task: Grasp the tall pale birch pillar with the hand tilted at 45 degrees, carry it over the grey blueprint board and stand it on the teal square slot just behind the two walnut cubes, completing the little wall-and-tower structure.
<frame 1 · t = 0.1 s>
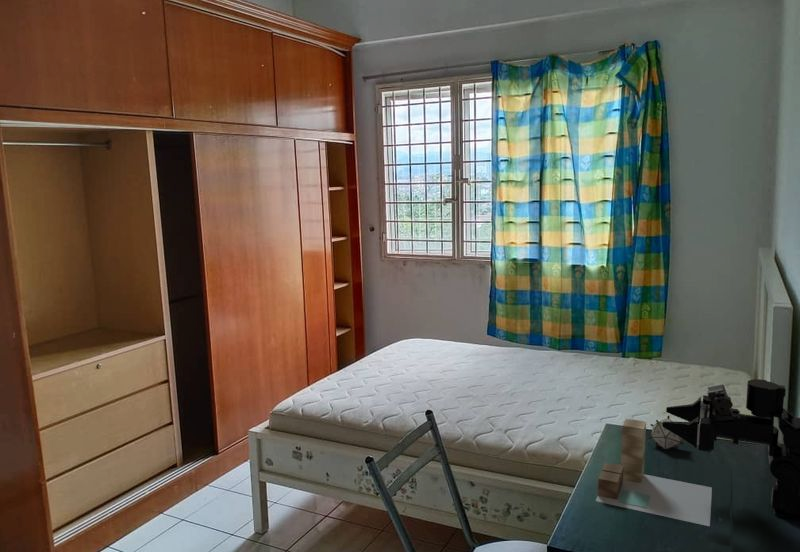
hand: (664, 416, 138), 17 cm above the table, tool horizontal, fingers open, 9 cm apart
pillar: (632, 476, 143), point 1 cm above the table, touching blueprint board
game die: (665, 449, 160), on the table
cube a: (608, 493, 136), point 1 cm above the table, touching blueprint board
blueprint board: (654, 498, 136), on the table
cube b: (612, 484, 140), point 1 cm above the table, touching blueprint board
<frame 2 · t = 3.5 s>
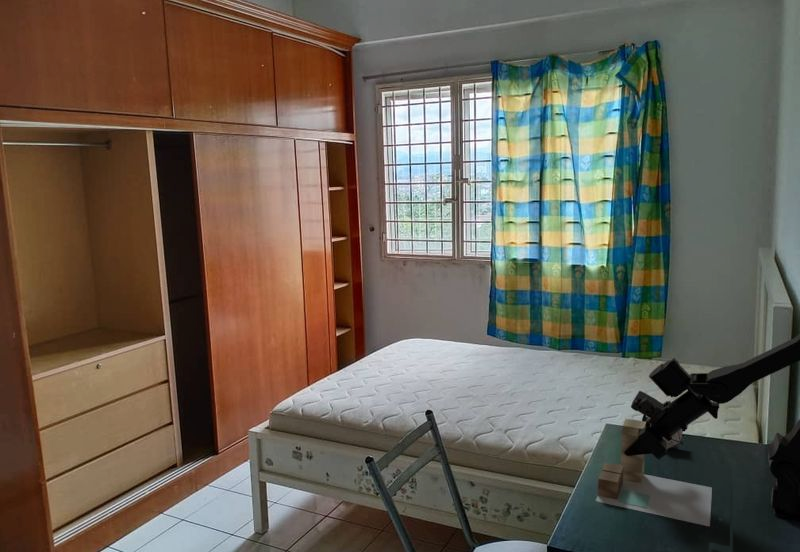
hand: (626, 449, 143), 7 cm above the table, tool tilted 45°, fingers closed on pillar, 4 cm apart
pillar: (632, 476, 143), point 1 cm above the table, touching blueprint board, gripper
everything else where it was.
when the fingers open (8 cm above the table, at t = 6.8 s): pillar stays where it is, resting on blueprint board.
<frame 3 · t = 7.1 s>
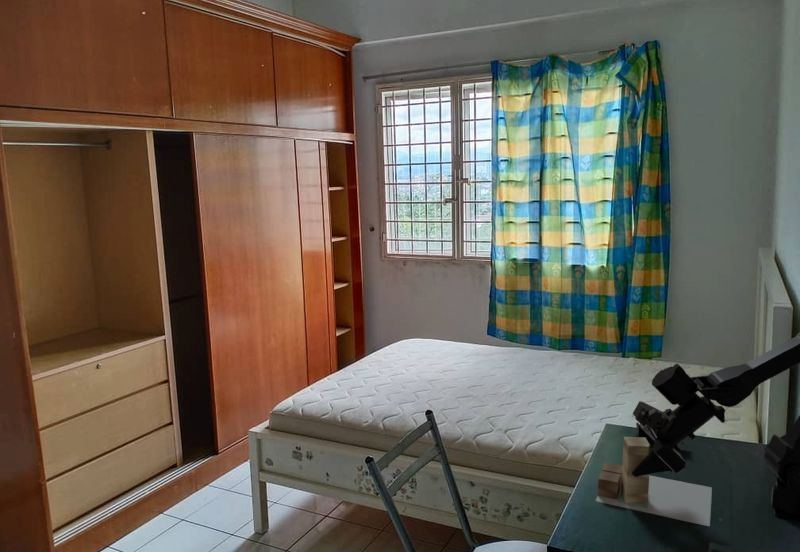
hand: (628, 465, 133), 9 cm above the table, tool tilted 45°, fingers open, 8 cm apart
pillar: (634, 498, 134), point 1 cm above the table, touching blueprint board
everything else where it was.
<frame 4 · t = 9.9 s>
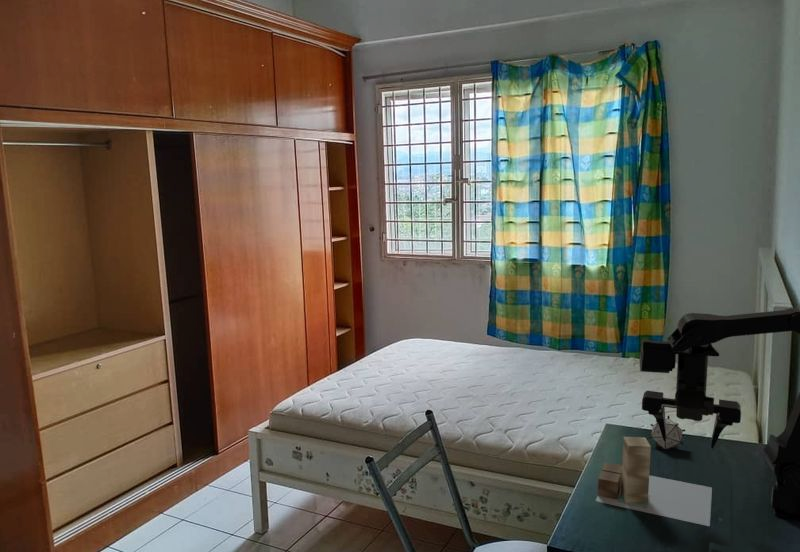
hand: (688, 444, 133), 13 cm above the table, tool pointing down, fingers open, 9 cm apart
nothing on the table moved.
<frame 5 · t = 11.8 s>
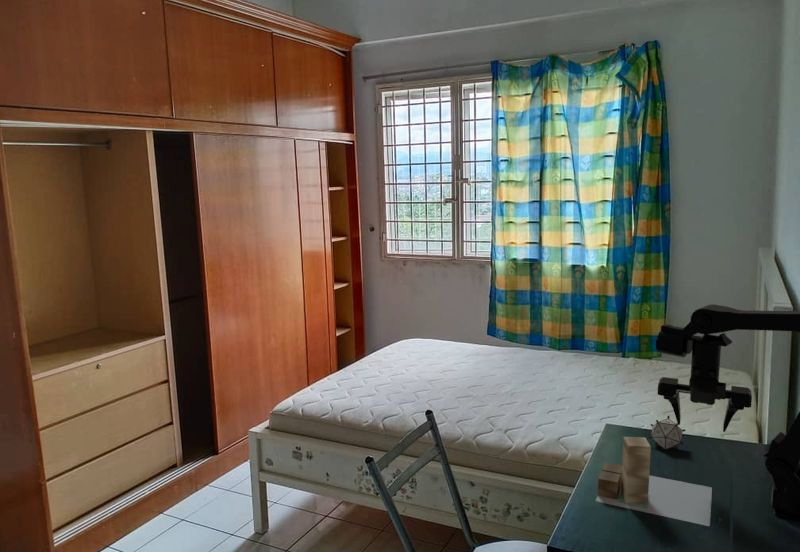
hand: (701, 427, 141), 13 cm above the table, tool pointing down, fingers open, 9 cm apart
nothing on the table moved.
at the end: pillar 0.1 cm from the target spot, point 1.1 cm above the table; pillar tilted 0°; the gripper is holding nothing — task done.
